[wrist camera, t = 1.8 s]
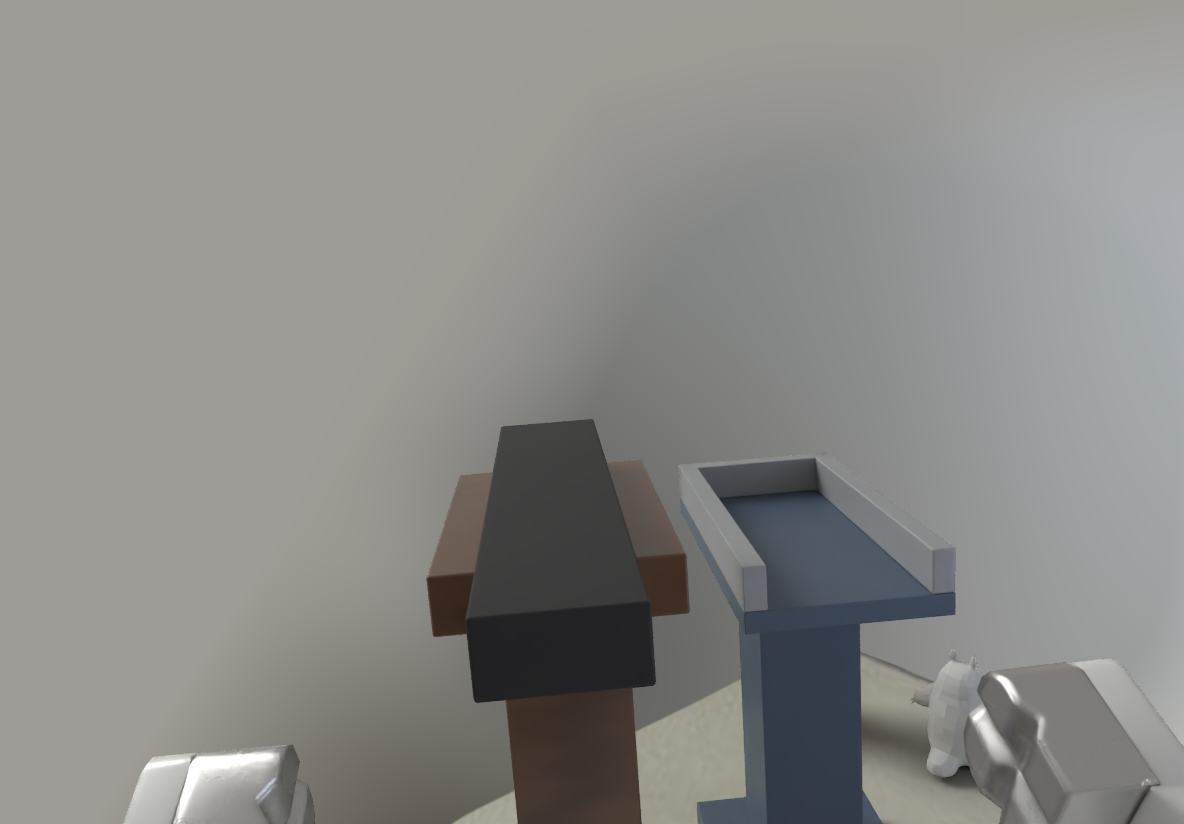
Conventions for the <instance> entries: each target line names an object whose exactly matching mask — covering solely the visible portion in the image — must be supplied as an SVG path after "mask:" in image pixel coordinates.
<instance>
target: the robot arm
mask: <svg viewBox="0 0 1184 824" xmlns="http://www.w3.org/2000/svg"><path fill="white" fill-rule="evenodd" d="M977 693H978V694H979V696H980V698H981V700H982V702H983V703H982V704H981V705H979V706H978V707H977V708H976V709H975V710H973V711H972V712H971V713H970V714H968V718H967V721H966V725H965V729H964V732H963V734H964V745H965V755H966V758H967V762H968V765H969V768H970V771H971V774H972V776H973V778H974V780H975V782H976V784H977V786H978V788H979V791H980V793H981V794H983V795H984V796H985V797H987V798H988V799H989V800H991V801H992V802H993V803H995V804H996V805H997V806H999V807H1000V808H1001V809H1002V812H1001V817H1000V822H999V824H1184V747H1183V745H1182V744H1181V743H1180V741H1179V740H1178V739H1177V737H1176V736H1175V735H1174V733H1173V732H1172V731H1171V729H1170V728H1169V727H1168V725H1167V724H1166V723H1165V721H1164V720H1163V719H1162V717H1161V716H1160V715H1159V713H1158V712H1157V710H1156V709H1155V708H1154V706H1153V705H1152V704H1151V702H1150V701H1149V700H1148V698H1147V697H1146V696H1145V694H1144V693H1143V692H1142V690H1141V689H1140V688H1139V686H1138V685H1137V683H1136V682H1135V681H1134V680H1133V678H1132V677H1131V675H1130V674H1129V673H1128V671H1127V670H1126V669H1125V667H1124V666H1122V665H1121V664H1120V663H1118V662H1117V661H1115V660H1114V659H1100V660H1091V661H1083V662H1075V663H1066V662H1063V663H1054V664H1046V665H1038V666H1029V667H1021V668H1014V669H1005V670H996V671H990V672H988V673H987V674H985V675H984V676H982V677H981V680H980V683H979V686H978V688H977ZM298 768H299V759H298V757H297V754H296V752H295V749H294V747H293V745H282V746H271V747H259V748H248V749H237V750H226V751H214V752H204V753H201V752H198V753H188V754H179V755H168V756H160V757H152V758H151V760H150V761H149V762H148V764H147V765H146V767H145V768H144V770H143V771H142V773H141V775H140V777H139V781H138V783H137V786H136V789H135V792H134V795H133V798H132V801H131V804H130V806H129V809H128V812H127V815H126V818H125V821H124V824H315V813H314V806H313V800H312V795H311V793H310V789H309V786H308V784H306V783H304V782H302V781H301V780H299V779H297V774H298Z"/></svg>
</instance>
